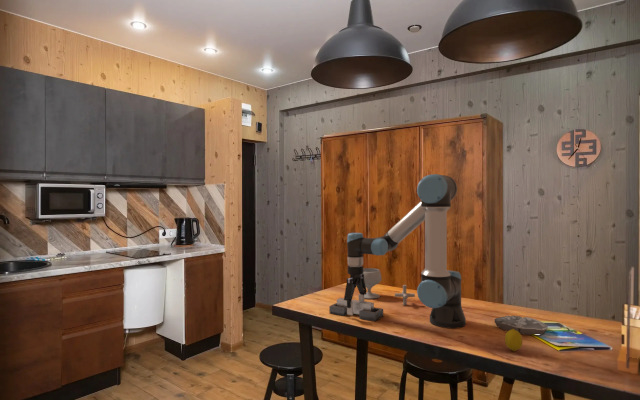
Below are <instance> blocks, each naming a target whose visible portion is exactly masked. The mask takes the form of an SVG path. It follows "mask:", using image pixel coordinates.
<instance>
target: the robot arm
mask: <svg viewBox="0 0 640 400" xmlns="http://www.w3.org/2000/svg"><path fill="white" fill-rule="evenodd" d="M416 188H417V189H416V193H417V195H418V198H419V199H420V201H419V202H418V203H417V204H416V205H415V206H414V207H413V208H412V209H411V210H409V211H408V212H407V213H406V214H405V215H404V216H403V217H402V218H401V219H400V220H398V222H397V223H395V225H393V226H392V227H391V228H390V229H389V230H388V231H386V233H385V234H384V235H382V236H379V237H378V236H377V237H364V234H363V233H362V232H348V234H347V239H346V245H347V246H346V247H347V275H350V276H349V278H346V284H345V292H344V296H343V298H344V300H346V301H347V315H348V316H349V315H350V316H354V314H353V301H352V300H353V297H354V292H355V289H356V288H357V290H358V292H359V294H358V295H359V296H358V300H359V301H365V298H364V294H365V295H366V293H367V291H368V290H367V288H366V285H365V280H364V274H363V268H364V266H363V265H364V255H374V256H384V255H386V253H388V252H392V251H393V250H396V248H398V246H399V244H400V243H401V242H402V241H403V240H404V239H406V237H407V236H409V235H410V234H411V233H412V232H414V230H416V228H418V227H419V226H420V225H421V224H422V223H424V269H423V270H422V271H421V273H420V278H421V280H420V283H419V284H418V286H417V288H416V293H417V298H418V299H419V301H420V302H421V304H423V305H424V306H425V307H428V308H430V309H431V311H430V314H429V323H431V324H432V326H433V325H434V326H436V327H440V328H447V329H458V328H463V327H465V326H466V325H467V324H466V322H467V319H466V315H465V313H464V310H463V307H462V275H461V273H460V272H459V271H457V270H449V269H448V270H447V263H448V261H447V258H448V257H447V256H448V255H447V253H448V252H447V251H448V249H447V248H448V247H447V245H448V243H447V239H448V238H447V236H448V235H447V233H448V232H447V231H448V229H447V226H448V224H447V223H448V222H447V219H448V217H447V216H448V215H447V213H448V211H449V210H450V209H451V207H452V206H451V204H452V203H451V202H452V200H454V198H455V197H456V195H457V193H458V185H457V183H456V180H455V179H454V178H452V177H451V176H449V175H443V174H437V173H432V174H428V175H425V176H423V177H422V178H421V179H420V180H419V181H418V184H417V187H416Z"/></svg>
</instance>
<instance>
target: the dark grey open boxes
mask: <svg viewBox="0 0 640 400" xmlns="http://www.w3.org/2000/svg"><path fill="white" fill-rule="evenodd" d="M329 314H331V315H334V316H341V317H342V316H343V317H345V316H347V315H348V314H347V312H346V308H345V307H339V306H337V302H335V303H333V304H331V305H329ZM358 315H359V316H358V317H359V318H358V319H360V320H366V321H370V322H377V321H379V320H380V319H382V318H383V317H384V308H382V307H376V306H374V312H370V311H364V310H360V311H359V314H358Z"/></svg>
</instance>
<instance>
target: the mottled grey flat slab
mask: <svg viewBox="0 0 640 400" xmlns="http://www.w3.org/2000/svg"><path fill="white" fill-rule="evenodd" d="M494 323H495V325H496V326H497V328H499V329H500V330H502V329H503V330H504V331H506V330H507V331H509V330H512V329H515V330H516V331H518V332H519V333H520V334H521V335H524V336H526V335H527V336H528V335H529V336H532V335H531V334H542V335H543V334H544V333H545V332H547V329H548V327H549V325H548V324H546V323H544V322H542V321H541V320H538V319H536V318H532V317H527V316H524V317H522V316H518V315H505V316H501V317H500V316H499V317H495V319H494ZM503 330H502V331H503ZM507 331H506V332H507Z"/></svg>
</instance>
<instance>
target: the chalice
mask: <svg viewBox="0 0 640 400" xmlns="http://www.w3.org/2000/svg"><path fill="white" fill-rule="evenodd" d="M363 274H364V280H365V285H366V290H367V292H366V295H365V294H364V299H367V300H368V299H371V300H373V299H378V298H380V297H381V296H380V294H379V293H375V292H372V288H374V286H377V285H378V284H380V283H381V281H382V273H381V270H380V269H378V268H374V267H373V268H372V267H371V268H370V267H366V268H365V267H363ZM358 297H359V294H358Z"/></svg>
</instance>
